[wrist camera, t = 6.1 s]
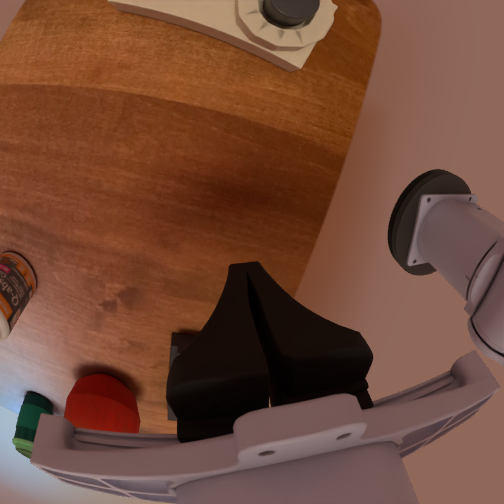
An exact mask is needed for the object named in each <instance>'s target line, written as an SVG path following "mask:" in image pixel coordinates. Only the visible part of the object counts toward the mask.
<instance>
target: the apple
mask: <svg viewBox="0 0 504 504" xmlns="http://www.w3.org/2000/svg"><path fill="white" fill-rule="evenodd" d="M64 418H65V419H67V420H68V421H70V422H71V423H72V424H73V425H74V427H78V428H85V429H92V430H100V431H110V432H122V433H139V427H140V417H139V412H138V408H137V403H136V399H135V396H134V394H133V393H132V392H131V391H130V390H129V389H128V388H127V387H126V386H125V385H124V384H123V383H122V382H121V381H119V380H118V379H116V378H114V377H112V376H109V375H106V374H101V373H100V374H94V375H90V376H86V377H82V378H80V379H79V380H78V381H77V382H76V383H75V385H74V387H73V388H72V390H71V392H70V394H69V395H68V397H67V401H66V407H65V414H64Z"/></svg>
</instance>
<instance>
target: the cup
mask: <svg viewBox="0 0 504 504" xmlns="http://www.w3.org/2000/svg"><path fill="white" fill-rule="evenodd" d="M42 413H44V414H49V415H53V404H52V403H51V402H50V401H49V400H48V399H47V398H45V397H44V396H42V395H40V394H38V393H35V392H28V393H27V394H26V395H25V398H24V401H23V404H22V406H21V410H20V413H19V416H18V421H17V425H16V432H15V436H14V438H13V444H14V445H15V446H16V450H17V451H18V452H19V453H21V454H22V455H24V456H26V457H27V458H29V459H31V454H32V449H33V444H34V440H35V435H36V431H37V427H38V423H39V419H40V416H41V414H42Z"/></svg>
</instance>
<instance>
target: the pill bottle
mask: <svg viewBox="0 0 504 504" xmlns="http://www.w3.org/2000/svg"><path fill="white" fill-rule="evenodd" d="M35 290H36V279H35V276H34V273H33V271H32V269H31V267H30V266H29V264H28V263H27V262H26V261H25V260H24V259H23V258H22V257H20V256H19V255H17V254H15V253H11V252H6V253H3V254H2V255H1V256H0V341H2V340H5V339H6V338H7V337H8V336H9V334H10V332H11V331H12V329H13V327H14V325H15V324H16V322H17V320H18V318H19V317H20V315H21V313H22V312H23V310H24V308H25V307H26V305H27V304H28V302H29V301H30V299H31V297H32V296H33V294H34V292H35Z"/></svg>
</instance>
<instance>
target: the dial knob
mask: <svg viewBox="0 0 504 504" xmlns="http://www.w3.org/2000/svg"><path fill="white" fill-rule="evenodd" d="M319 6H320V0H263V10H264V13H265V14H266V16H267V17H268V18H269V19H270V20H271V21H273V22H274V23H276V24H278V25H282V26H288V27H291V26H297V25H299V24H301V23H303V22H304V21H306V20H307V19H308V18H310V17H311V16H313V15H314V14H315V13H316V12H317V11H318V9H319Z"/></svg>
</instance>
